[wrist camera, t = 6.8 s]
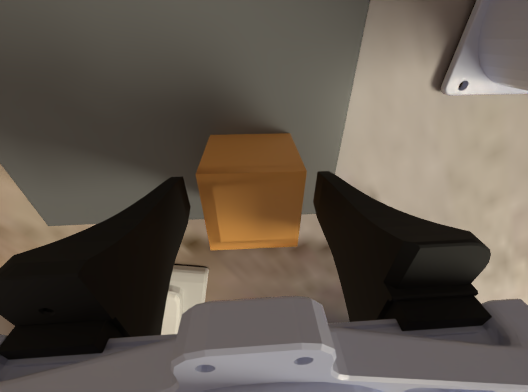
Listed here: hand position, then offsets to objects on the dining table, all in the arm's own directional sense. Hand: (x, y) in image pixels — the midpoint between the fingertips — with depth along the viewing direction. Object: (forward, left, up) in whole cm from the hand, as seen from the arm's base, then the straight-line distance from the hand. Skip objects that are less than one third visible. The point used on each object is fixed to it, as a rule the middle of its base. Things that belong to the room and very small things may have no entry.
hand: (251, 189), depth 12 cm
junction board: (+5, -4, -3) cm, 7 cm away
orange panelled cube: (0, 0, -2) cm, 2 cm away
